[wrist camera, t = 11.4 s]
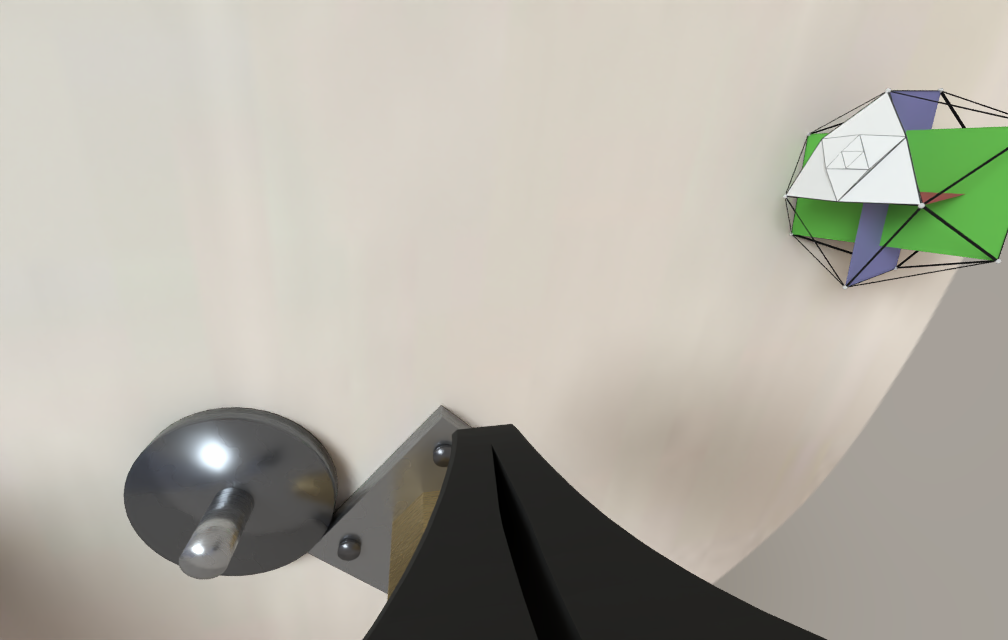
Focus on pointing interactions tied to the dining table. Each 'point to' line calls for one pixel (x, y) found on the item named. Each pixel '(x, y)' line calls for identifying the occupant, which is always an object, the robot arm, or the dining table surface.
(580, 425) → the dining table surface
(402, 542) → the brass collar
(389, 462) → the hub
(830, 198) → the geometric puzzle
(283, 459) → the stand
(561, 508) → the robot arm
